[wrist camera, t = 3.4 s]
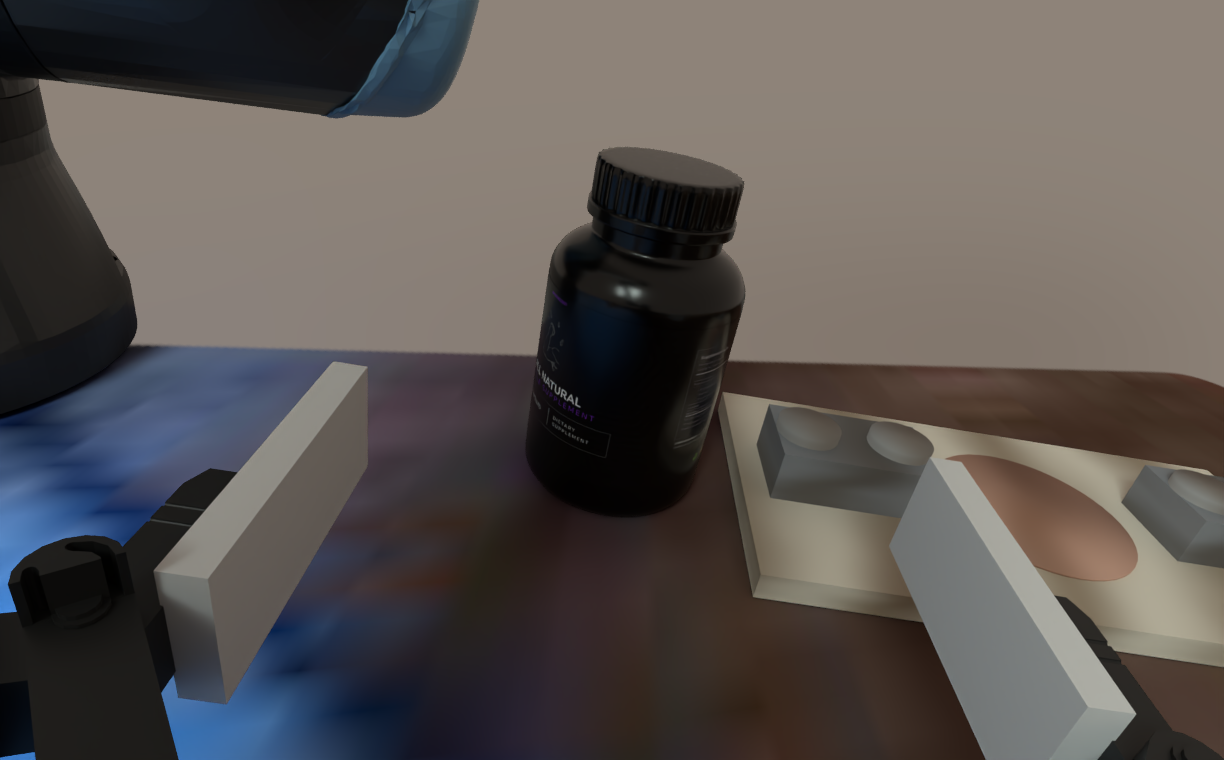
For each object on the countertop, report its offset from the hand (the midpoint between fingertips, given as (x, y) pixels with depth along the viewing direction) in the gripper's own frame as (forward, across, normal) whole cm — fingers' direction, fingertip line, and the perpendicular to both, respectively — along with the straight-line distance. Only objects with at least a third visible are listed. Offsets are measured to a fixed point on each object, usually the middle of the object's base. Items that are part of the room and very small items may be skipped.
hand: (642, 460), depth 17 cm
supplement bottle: (+9, 0, -7) cm, 12 cm away
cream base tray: (+9, +17, -7) cm, 21 cm away
